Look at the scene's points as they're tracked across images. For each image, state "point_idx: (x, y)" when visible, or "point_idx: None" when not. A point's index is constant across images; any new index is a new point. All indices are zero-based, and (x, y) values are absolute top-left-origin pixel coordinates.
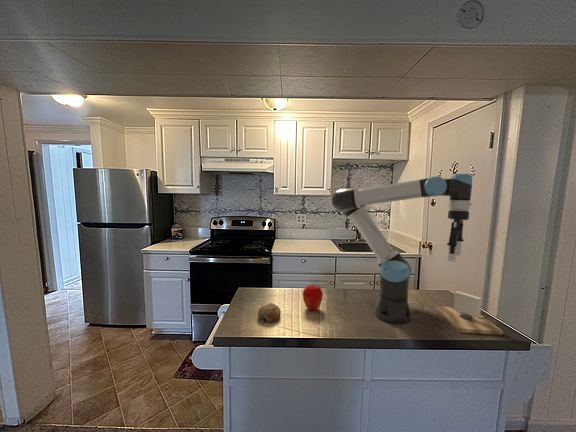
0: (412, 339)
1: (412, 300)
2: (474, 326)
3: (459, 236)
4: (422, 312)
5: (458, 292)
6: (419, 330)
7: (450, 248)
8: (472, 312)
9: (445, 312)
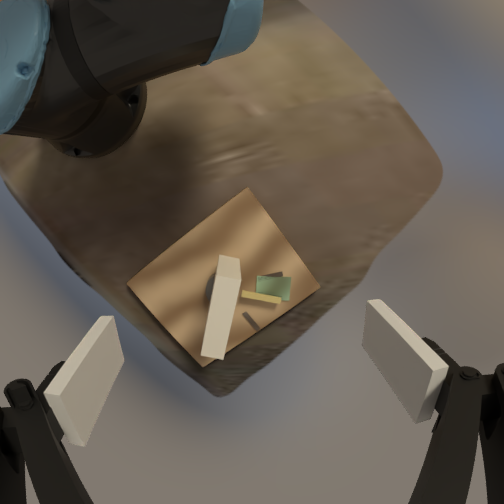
0: (19, 203)
1: (270, 100)
2: (173, 313)
3: (424, 465)
4: (184, 160)
5: (222, 287)
6: (63, 198)
7: (37, 389)
8: (207, 314)
9: (213, 227)
